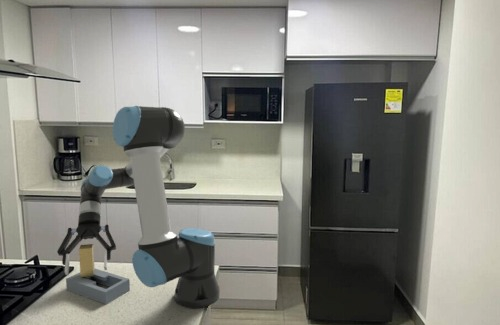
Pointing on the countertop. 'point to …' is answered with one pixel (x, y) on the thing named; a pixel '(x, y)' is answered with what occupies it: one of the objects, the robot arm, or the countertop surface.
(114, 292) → the keyhole block
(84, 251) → the peg
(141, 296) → the countertop surface
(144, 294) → the countertop surface
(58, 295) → the countertop surface
